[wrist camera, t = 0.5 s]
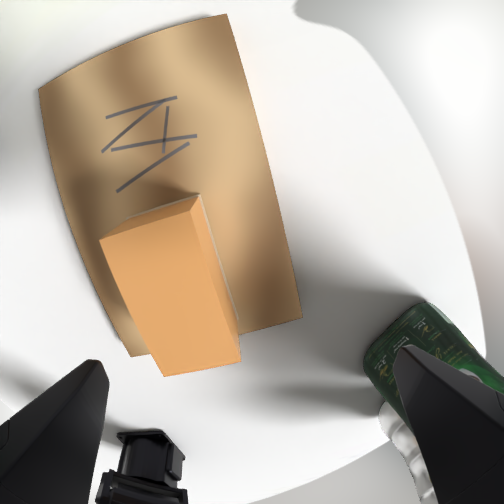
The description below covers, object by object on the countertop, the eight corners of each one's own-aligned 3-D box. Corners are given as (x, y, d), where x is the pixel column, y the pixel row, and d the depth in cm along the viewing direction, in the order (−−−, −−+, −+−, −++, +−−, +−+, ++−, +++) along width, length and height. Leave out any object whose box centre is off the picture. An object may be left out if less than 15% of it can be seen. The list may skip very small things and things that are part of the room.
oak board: (135, 346, 22) (130, 357, 21) (48, 91, 15) (38, 89, 13) (298, 307, 22) (302, 317, 21) (226, 22, 15) (226, 13, 13)
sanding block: (173, 332, 20) (163, 378, 16) (127, 216, 17) (96, 238, 13) (238, 317, 20) (243, 362, 16) (200, 193, 17) (191, 208, 13)
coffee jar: (384, 386, 27) (459, 515, 9) (348, 357, 25) (438, 526, 7) (447, 326, 25) (550, 434, 8) (423, 285, 23) (564, 413, 6)
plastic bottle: (397, 378, 27) (482, 514, 8) (427, 384, 28) (504, 495, 9) (362, 415, 28) (424, 549, 10) (396, 418, 30) (456, 530, 11)
